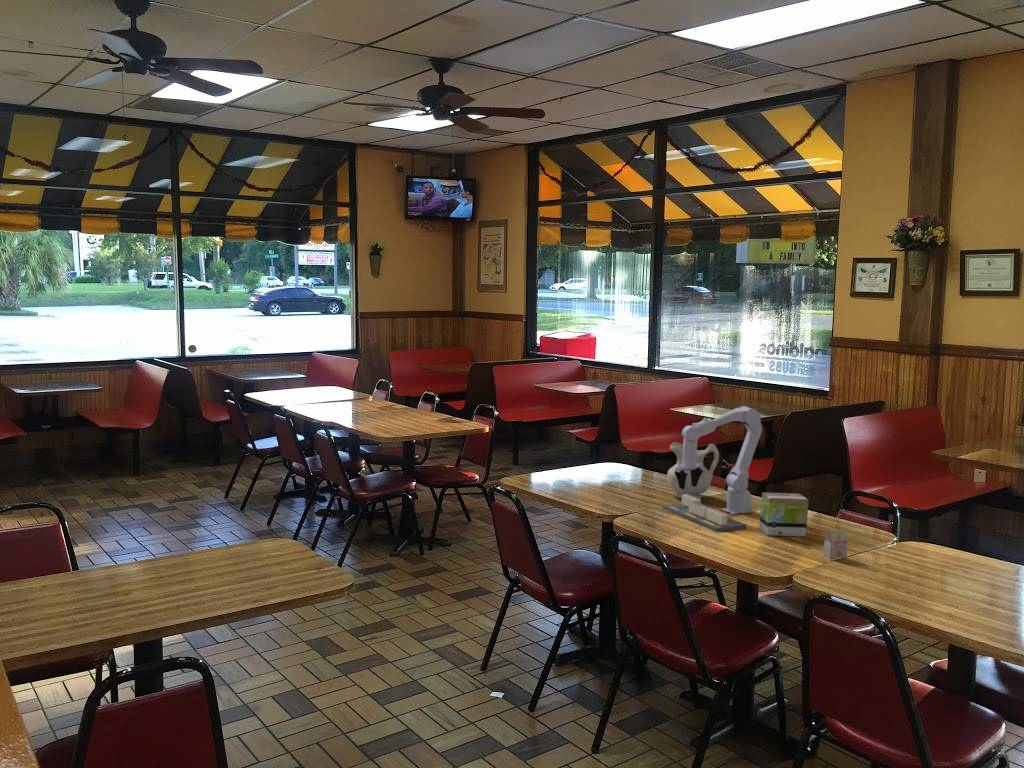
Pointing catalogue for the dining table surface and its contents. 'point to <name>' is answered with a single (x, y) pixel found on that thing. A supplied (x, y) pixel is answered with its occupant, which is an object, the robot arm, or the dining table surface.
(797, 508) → the tea box
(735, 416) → the robot arm
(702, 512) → the slider
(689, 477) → the ceramic pitcher
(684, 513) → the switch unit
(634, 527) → the dining table surface
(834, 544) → the white gable top carton
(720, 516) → the slider
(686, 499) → the slider
